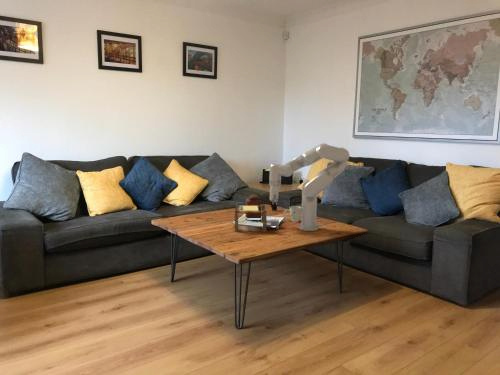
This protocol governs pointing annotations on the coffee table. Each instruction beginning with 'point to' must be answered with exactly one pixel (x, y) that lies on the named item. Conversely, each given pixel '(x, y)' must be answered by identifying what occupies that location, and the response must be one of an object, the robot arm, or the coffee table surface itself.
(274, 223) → the stone
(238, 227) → the frame
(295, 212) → the mug
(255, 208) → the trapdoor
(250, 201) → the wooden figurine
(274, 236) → the coffee table surface
